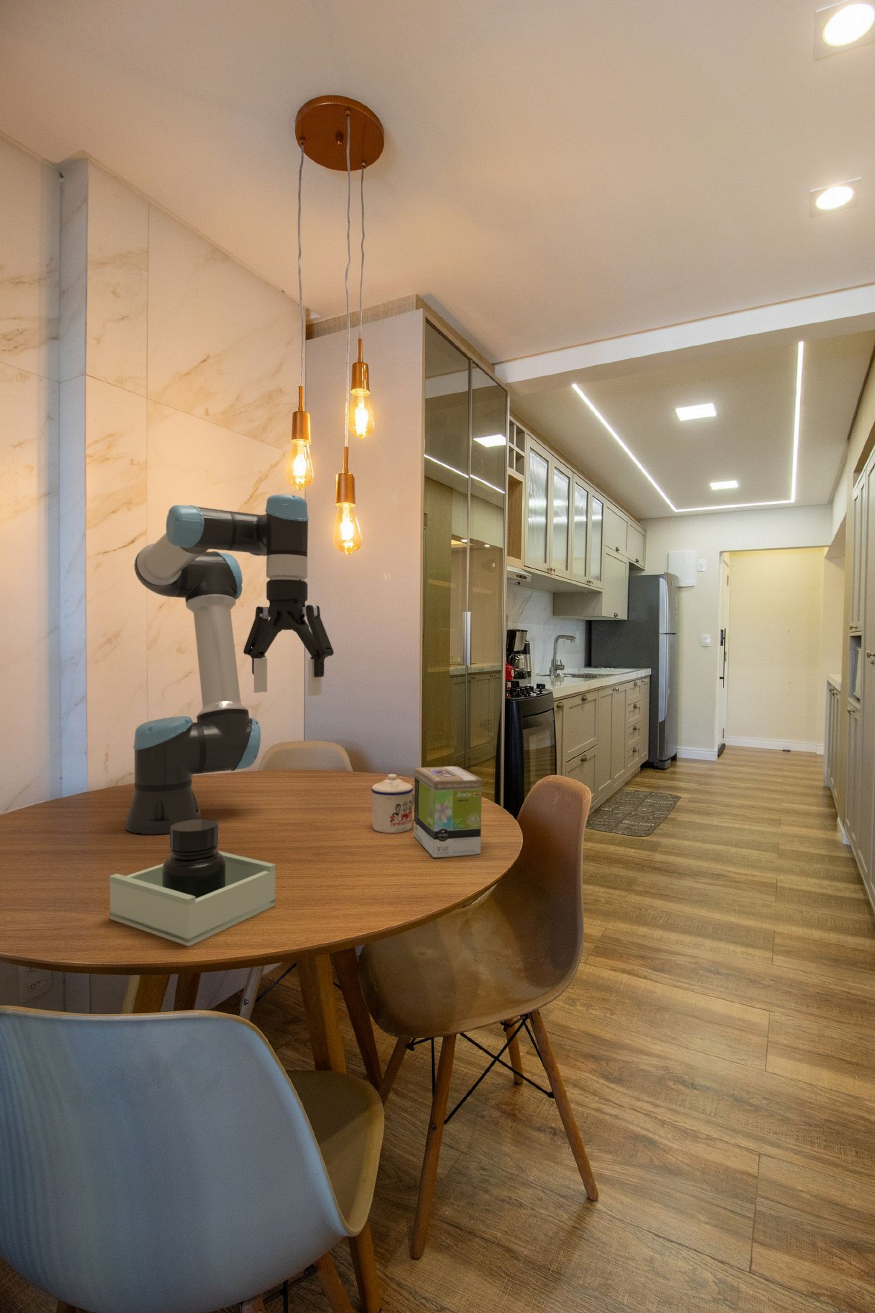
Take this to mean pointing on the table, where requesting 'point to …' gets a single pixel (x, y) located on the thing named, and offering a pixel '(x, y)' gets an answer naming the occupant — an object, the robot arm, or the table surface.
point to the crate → (192, 901)
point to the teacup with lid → (392, 805)
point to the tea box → (448, 811)
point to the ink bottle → (194, 859)
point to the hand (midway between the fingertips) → (287, 694)
